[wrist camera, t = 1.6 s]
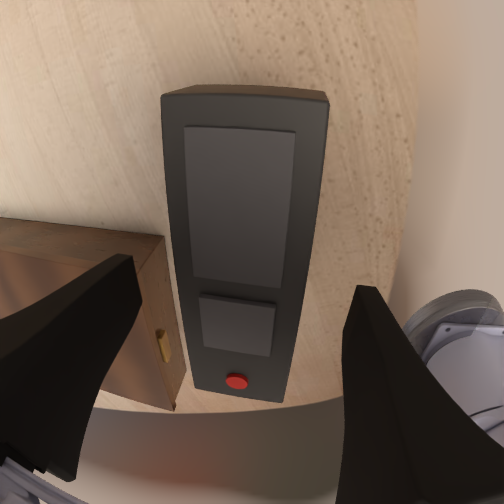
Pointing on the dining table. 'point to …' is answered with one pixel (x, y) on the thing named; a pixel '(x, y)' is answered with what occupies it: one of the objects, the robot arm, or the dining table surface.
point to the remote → (242, 226)
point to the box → (78, 262)
